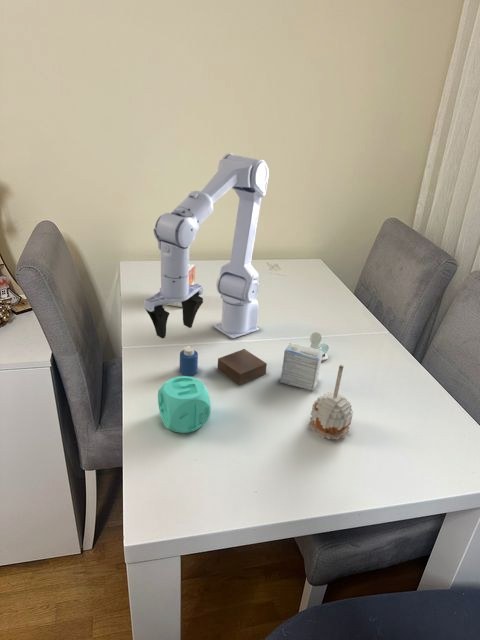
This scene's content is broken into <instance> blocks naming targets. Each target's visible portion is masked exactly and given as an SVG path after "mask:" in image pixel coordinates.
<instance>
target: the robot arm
mask: <svg viewBox="0 0 480 640" xmlns="http://www.w3.org/2000/svg"><path fill="white" fill-rule="evenodd" d="M269 176H270V169H269V167H268V165H267V162H266V161H265V160H264V159H262V158H261V159H257V158H253V157H247V156H242V155H236V154H233V153H232V152H229V153H226V154H224V156H222V158H221V159H220V160H219V161H218V165H217V172H215V174H214V175H213V176H212V178H210V180H209V181H208V182H207V183H206V185H205V186H204V187H203V188H202V189H201V190H192V191H190V193H188V196H187V197H185V198H184V199H183V201H181V202H180V203H179V205H177V206H176V207H175V208H174V209H173V210H172V211H171V212H164V213H163V214H161V215H160V216H159V217H158V218H157V219H156V222H155V226H154V228H153V235H154V237H155V239H156V240H157V248H158V249H159V250H160V287H159V291H158V292H157V293H155V294H153V295H152V296H150V297H149V298H146V299H144V300H143V308H144V310H145V311H146V313H147V315H148V316H149V317H150V320H151V322H152V324H153V327H154V330H155V335H156V337H158V338H160V339H162V340H164V339H166V336H167V324H168V319H169V316H170V314H171V313H170V312H169V311H167V310H166V309H165V307H164V306H167V305H168V304H170V303H176V302H181V303H182V307H181V310H182V323H183V326H184V327H186V328H189V329H191V328H193V325H194V321H195V318H196V315H197V313H198V311H199V309H200V307H201V306H202V305H203V303H204V298H203V297H202V296H201V295H203V294H204V286H203V285H201V284H200V283H195V284H193V285H189V264H190V247H191V245H192V244H193V243H194V242H195V240H196V237H197V234H198V232H199V229H200V226H201V225H202V224H203V223H204V222H205V221H206V220H207V219H208V218H209V217H210V216H211V215H212V213H213V212H214V204H215V203H216V202H217V201H218V200H219V199H221V198H222V197H223V196H224V195H225V194H227V193H228V192H229V191H230V190H231V189H232V190H234V191H235V193H236V195H237V196H238V198H239V200H238V204H237V205H238V206H237V213H236V220H235V227H234V233H233V239H232V247H231V254H230V261H229V262H227V263H225V264H224V265H222V266H221V267H220V271H219V275H218V277H217V279H216V286H215V287H216V291H217V293H218V294H220V299H222V306H221V307H222V308H221V323H217V324H214V326H213V327H214V328H215V330H218V331H220V332H221V333H223V334H224V335H226V336H227V337H229V338H230V339H237V338H239V337H243V336H245V335H249V334H252V333H254V332H257V331H259V330H260V328H259V326H258V322H259V321H258V320H259V312H260V310H259V309H260V306H259V302H258V300H257V297H258V294H259V289H260V285H259V284H260V283H259V280H260V279H259V278H260V274H259V272H258V271H257V270H256V269H255V267H254V266H253V265H252V257H253V253H254V252H253V251H254V247H255V239H256V234H257V228H258V223H259V222H258V221H259V217H260V211H261V210H260V209H261V203H262V198H264V197H265V196H266V193H267V188H268V182H269Z"/></svg>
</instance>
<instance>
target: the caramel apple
mask: <svg viewBox="0 0 480 640" xmlns="http://www.w3.org/2000/svg"><path fill="white" fill-rule="evenodd" d="M343 371H344V365H343V364H340V365H338V372H337V376H336V381H335V386H334V389H333V390H334V391H333V392H327V393H324V394H323V395H320V396H319V397H317V399H316V400H315V401H314V403H313V404H312V407H311V411H310V416H311V417H310V418H309V423H308V424H309V427H310V430H312V431H313V433H314V434H315V435H317V436H319V437H321V438H322V439H324V438H326V439H327V440H331V439H332V440H339V439H340V438H342V439H343V438H345V436H346V437H347V435H348V434H349V432H350V425H351V424H352V420H353V417H354V415H353V414H354V411H353V408H352V404H351V402H350V401H349V400H348V399H347V398H346V396H343V395H342V394H340V393H339V390H340V385H341V380H342V376H343Z"/></svg>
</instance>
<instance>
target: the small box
mask: <svg viewBox="0 0 480 640" xmlns="http://www.w3.org/2000/svg"><path fill="white" fill-rule="evenodd" d="M195 282H196V264H192V263H189V285H193V284H196V283H195ZM167 305H168V306H173V307H180V308H182V303H181V302H176V303H170V304H167Z"/></svg>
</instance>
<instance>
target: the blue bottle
mask: <svg viewBox="0 0 480 640" xmlns="http://www.w3.org/2000/svg"><path fill="white" fill-rule="evenodd" d="M198 364H199V353H198V351H197V350H195V348H194V347H193V346H189V345H188V346H184V348H183V350H181V351H180V352H179V373H180V375H181V376H190V377H194V376H195V375H196V374H197V373H198Z"/></svg>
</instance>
